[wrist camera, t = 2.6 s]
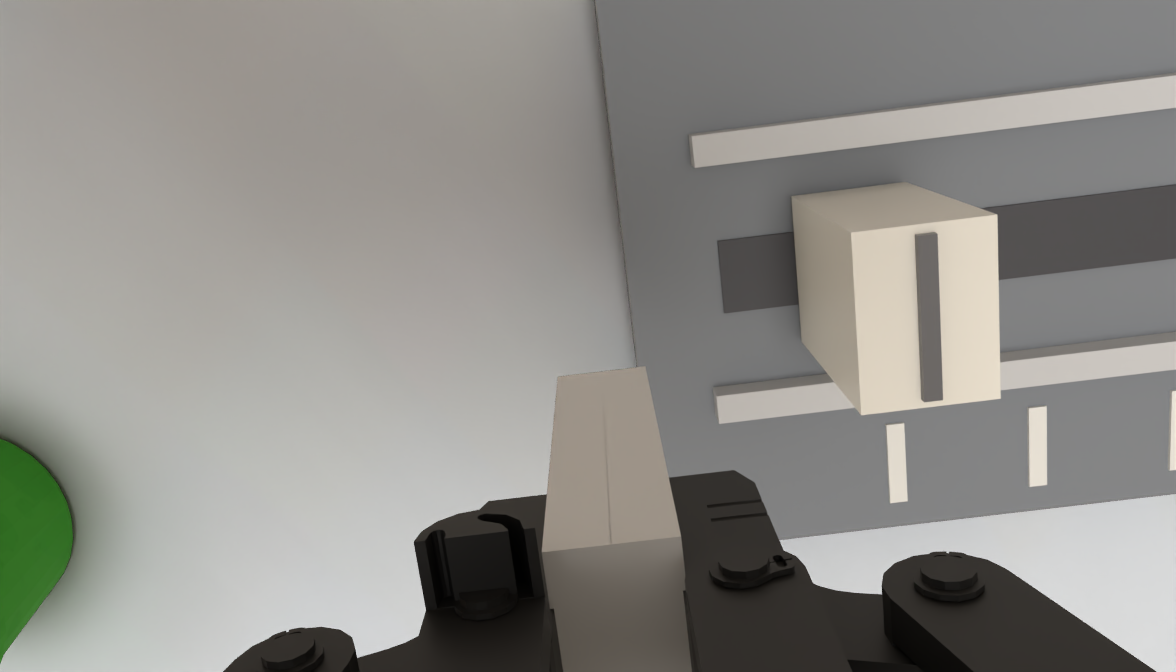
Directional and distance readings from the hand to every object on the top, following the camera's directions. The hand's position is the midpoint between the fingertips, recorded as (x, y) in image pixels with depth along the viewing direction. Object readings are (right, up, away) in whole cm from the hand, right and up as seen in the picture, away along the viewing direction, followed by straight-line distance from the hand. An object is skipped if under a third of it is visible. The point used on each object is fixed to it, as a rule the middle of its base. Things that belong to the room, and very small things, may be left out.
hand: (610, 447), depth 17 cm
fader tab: (+7, +4, +10) cm, 12 cm away
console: (+16, +6, +12) cm, 20 cm away
